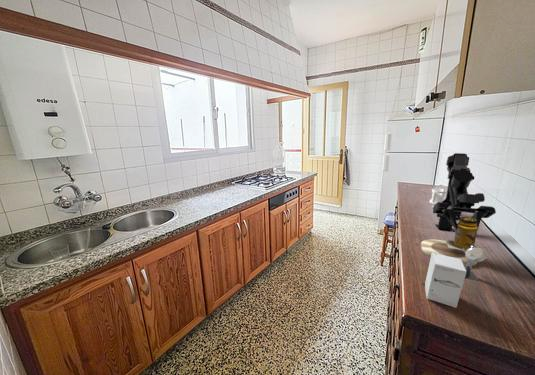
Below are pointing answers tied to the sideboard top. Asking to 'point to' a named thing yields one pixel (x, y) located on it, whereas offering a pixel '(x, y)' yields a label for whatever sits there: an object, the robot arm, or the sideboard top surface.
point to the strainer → (437, 196)
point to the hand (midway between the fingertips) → (466, 229)
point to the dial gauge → (473, 260)
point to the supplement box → (445, 279)
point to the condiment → (464, 234)
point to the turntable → (443, 250)
